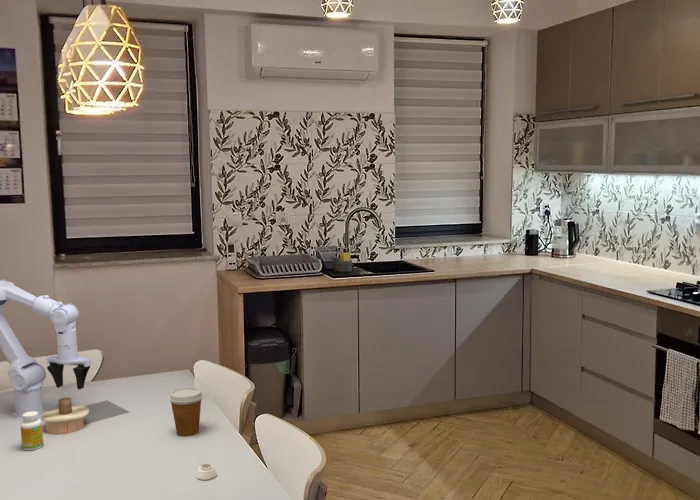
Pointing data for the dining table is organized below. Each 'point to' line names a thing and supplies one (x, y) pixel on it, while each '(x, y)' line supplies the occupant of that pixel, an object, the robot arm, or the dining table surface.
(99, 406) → the mat
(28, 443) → the supplement bottle
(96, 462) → the dining table surface
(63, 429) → the bowl
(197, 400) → the disposable coffee cup
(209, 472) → the white tapered round cap
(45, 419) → the lid
